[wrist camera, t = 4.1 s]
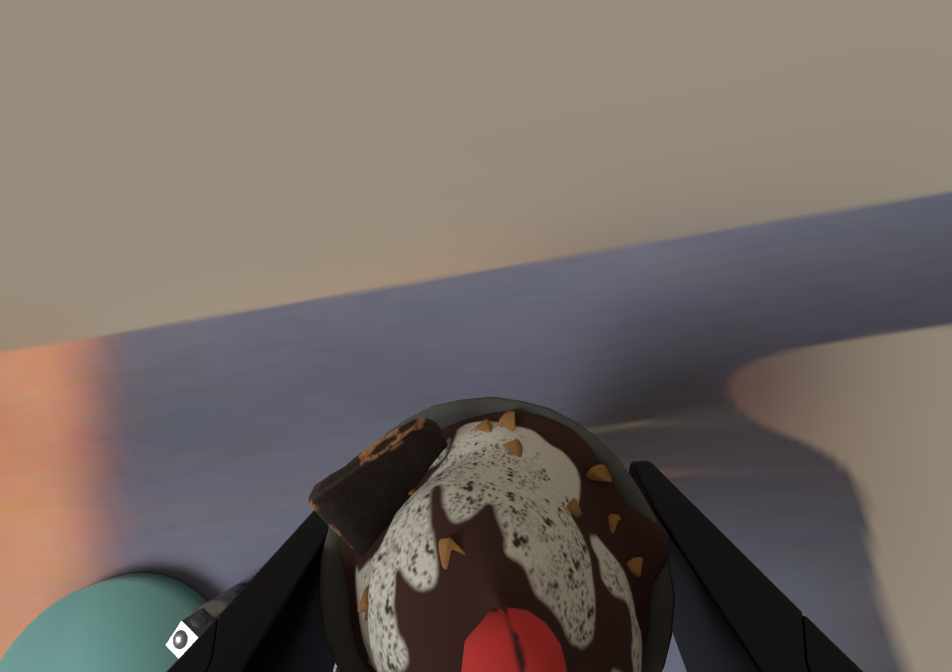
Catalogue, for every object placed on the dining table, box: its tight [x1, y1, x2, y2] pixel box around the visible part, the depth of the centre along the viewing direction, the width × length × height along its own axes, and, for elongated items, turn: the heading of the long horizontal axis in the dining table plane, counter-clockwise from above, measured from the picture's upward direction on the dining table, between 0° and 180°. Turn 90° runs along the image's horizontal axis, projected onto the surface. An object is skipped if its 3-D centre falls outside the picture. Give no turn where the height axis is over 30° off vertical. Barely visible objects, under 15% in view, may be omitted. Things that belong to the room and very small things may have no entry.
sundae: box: [309, 397, 675, 672], centre depth 9 cm, size 7×7×15 cm
